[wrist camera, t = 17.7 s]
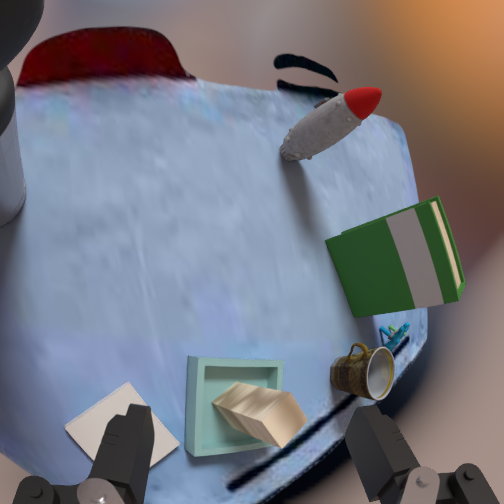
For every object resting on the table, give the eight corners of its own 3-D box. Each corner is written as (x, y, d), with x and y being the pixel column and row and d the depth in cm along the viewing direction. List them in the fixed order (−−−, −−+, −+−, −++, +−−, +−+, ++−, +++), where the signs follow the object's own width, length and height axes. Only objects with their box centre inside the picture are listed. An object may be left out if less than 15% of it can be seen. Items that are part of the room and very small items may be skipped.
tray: (184, 448, 35) (194, 456, 32) (188, 355, 39) (198, 357, 37) (265, 439, 42) (278, 444, 39) (269, 359, 47) (283, 360, 44)
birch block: (229, 426, 39) (281, 448, 29) (211, 402, 38) (261, 421, 29) (252, 405, 42) (308, 420, 32) (236, 381, 41) (290, 392, 32)
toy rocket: (285, 131, 63) (372, 69, 43) (306, 162, 64) (398, 107, 44) (265, 140, 58) (359, 70, 38) (287, 174, 59) (388, 112, 40)
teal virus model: (378, 364, 60) (403, 330, 57) (360, 348, 64) (384, 314, 60) (395, 351, 68) (417, 321, 64) (379, 337, 72) (400, 307, 68)
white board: (119, 482, 28) (121, 487, 27) (64, 424, 27) (64, 428, 26) (176, 440, 35) (180, 443, 34) (127, 381, 34) (129, 383, 33)
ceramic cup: (360, 371, 59) (400, 371, 51) (338, 406, 53) (379, 411, 45) (335, 327, 57) (377, 323, 49) (308, 363, 51) (352, 364, 43)
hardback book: (324, 240, 61) (428, 202, 42) (343, 231, 65) (438, 195, 46) (354, 317, 61) (458, 300, 42) (369, 302, 65) (465, 283, 46)
